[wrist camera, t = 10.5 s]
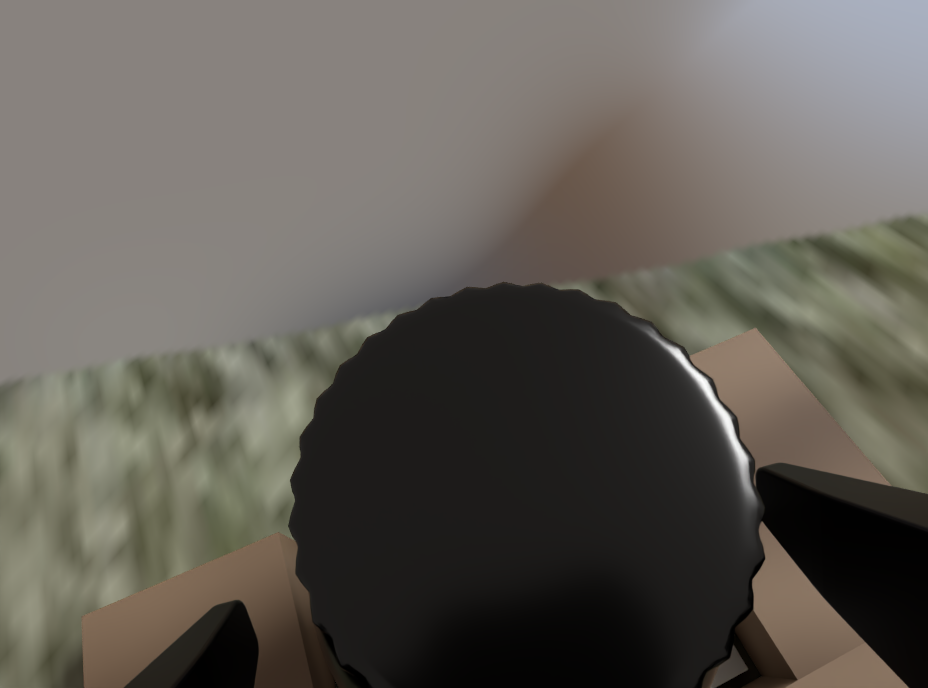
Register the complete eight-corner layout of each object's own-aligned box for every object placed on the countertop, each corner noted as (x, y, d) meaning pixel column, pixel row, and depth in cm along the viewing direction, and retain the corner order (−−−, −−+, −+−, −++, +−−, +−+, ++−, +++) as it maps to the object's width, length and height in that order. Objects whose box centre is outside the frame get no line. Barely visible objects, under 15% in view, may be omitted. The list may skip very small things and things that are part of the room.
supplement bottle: (405, 469, 18) (268, 214, 7) (610, 471, 17) (780, 201, 7) (384, 718, 14) (60, 918, 4) (640, 729, 14) (1083, 990, 3)
